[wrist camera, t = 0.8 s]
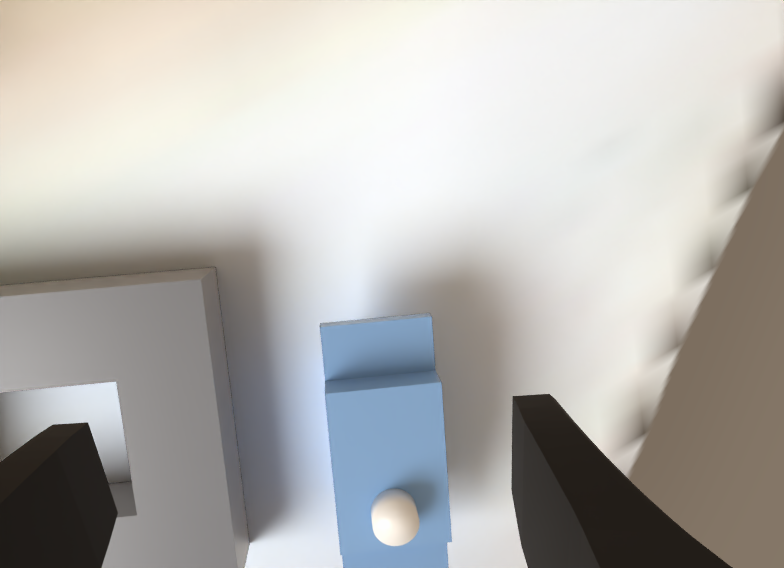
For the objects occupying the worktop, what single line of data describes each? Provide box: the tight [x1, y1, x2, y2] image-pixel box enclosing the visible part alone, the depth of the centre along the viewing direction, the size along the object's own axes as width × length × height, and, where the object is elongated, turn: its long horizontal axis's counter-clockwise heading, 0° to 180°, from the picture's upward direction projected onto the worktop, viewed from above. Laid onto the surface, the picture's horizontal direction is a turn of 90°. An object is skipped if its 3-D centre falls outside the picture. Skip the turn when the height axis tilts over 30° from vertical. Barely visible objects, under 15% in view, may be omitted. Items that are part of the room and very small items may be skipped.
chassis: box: [0, 267, 250, 568], centre depth 26 cm, size 12×14×3 cm
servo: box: [320, 313, 452, 568], centre depth 26 cm, size 4×10×6 cm, turn 4°
